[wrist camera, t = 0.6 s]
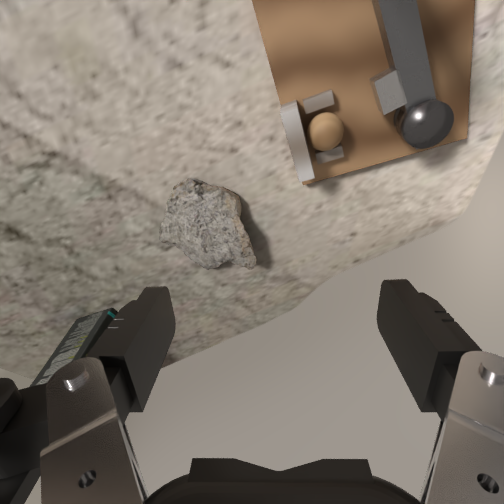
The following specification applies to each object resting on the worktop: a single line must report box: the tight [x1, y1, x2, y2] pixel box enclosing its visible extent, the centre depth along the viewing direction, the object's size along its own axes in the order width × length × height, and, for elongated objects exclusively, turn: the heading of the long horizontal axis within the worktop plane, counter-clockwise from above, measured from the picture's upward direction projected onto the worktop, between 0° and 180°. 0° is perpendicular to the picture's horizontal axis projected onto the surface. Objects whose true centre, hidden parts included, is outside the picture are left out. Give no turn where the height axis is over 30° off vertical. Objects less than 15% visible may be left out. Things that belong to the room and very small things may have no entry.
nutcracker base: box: [252, 0, 475, 185], centre depth 26 cm, size 22×17×5 cm
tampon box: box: [30, 308, 117, 387], centre depth 52 cm, size 11×9×15 cm
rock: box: [159, 179, 257, 270], centre depth 41 cm, size 14×4×15 cm
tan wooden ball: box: [307, 112, 344, 151], centre depth 29 cm, size 4×4×4 cm
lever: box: [369, 0, 454, 150], centre depth 21 cm, size 17×5×12 cm, turn 30°
